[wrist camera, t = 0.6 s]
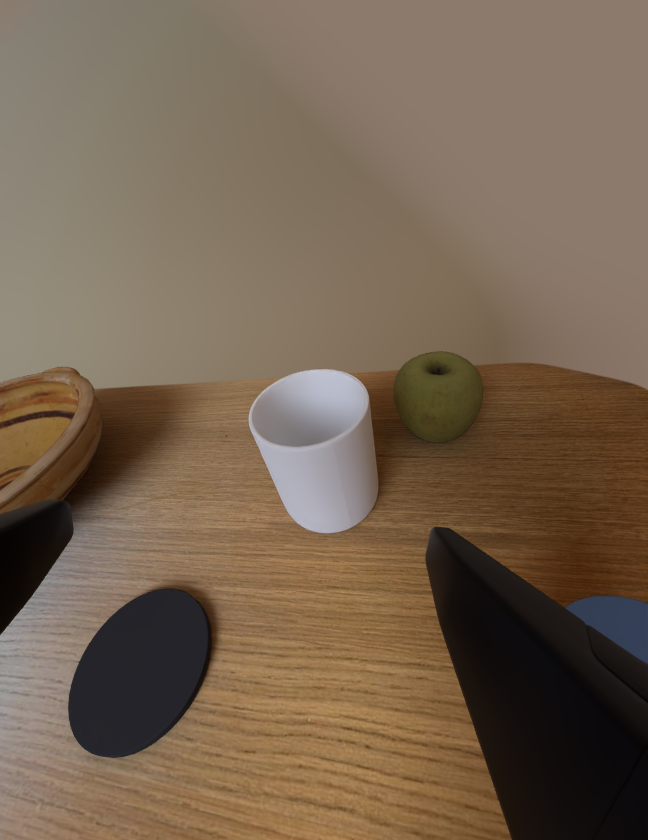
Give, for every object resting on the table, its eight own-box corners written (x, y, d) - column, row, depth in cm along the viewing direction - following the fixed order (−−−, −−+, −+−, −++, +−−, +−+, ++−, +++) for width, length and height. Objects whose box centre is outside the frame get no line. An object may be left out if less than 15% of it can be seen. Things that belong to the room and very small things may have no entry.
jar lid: (823, 807, 11) (891, 809, 9) (632, 893, 10) (672, 910, 9) (627, 593, 16) (651, 571, 14) (493, 644, 15) (502, 626, 14)
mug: (301, 431, 37) (276, 347, 30) (380, 428, 35) (372, 338, 28) (276, 535, 28) (231, 451, 21) (379, 539, 26) (366, 447, 19)
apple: (462, 395, 36) (469, 335, 32) (490, 452, 30) (504, 388, 26) (389, 406, 37) (386, 348, 32) (403, 462, 31) (401, 403, 26)
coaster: (212, 725, 20) (208, 723, 19) (54, 783, 19) (46, 783, 19) (211, 575, 26) (208, 571, 26) (94, 614, 26) (89, 611, 25)
